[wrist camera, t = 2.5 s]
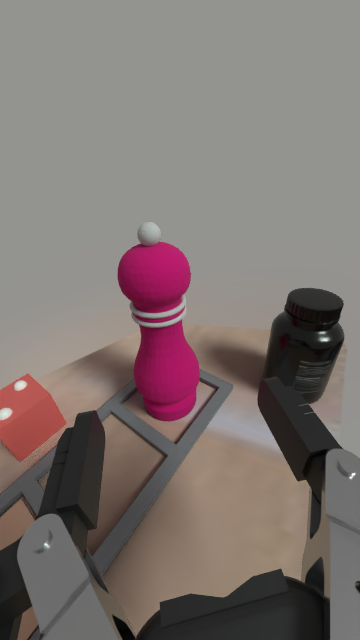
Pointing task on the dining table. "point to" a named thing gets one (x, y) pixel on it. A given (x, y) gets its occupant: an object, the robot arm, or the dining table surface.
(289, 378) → the supplement bottle
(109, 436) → the dining table surface
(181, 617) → the robot arm
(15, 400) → the die
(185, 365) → the pepper mill
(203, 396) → the dining table surface
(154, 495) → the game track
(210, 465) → the dining table surface
